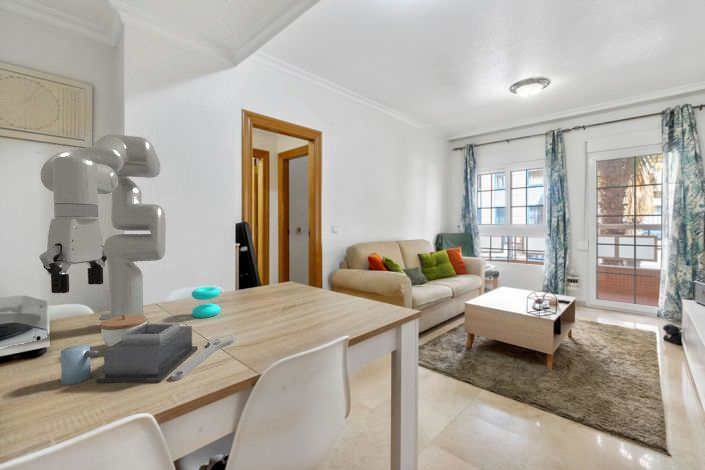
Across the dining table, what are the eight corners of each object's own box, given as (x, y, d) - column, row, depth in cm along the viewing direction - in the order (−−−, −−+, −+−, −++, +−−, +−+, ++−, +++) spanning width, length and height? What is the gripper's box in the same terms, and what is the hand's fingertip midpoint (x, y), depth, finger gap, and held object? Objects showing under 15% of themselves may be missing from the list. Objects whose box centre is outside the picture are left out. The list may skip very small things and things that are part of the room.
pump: (55, 384, 70) (54, 353, 69) (74, 373, 74) (73, 344, 74) (88, 384, 70) (87, 353, 69) (105, 373, 75) (104, 344, 74)
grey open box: (96, 382, 70) (95, 343, 70) (146, 350, 88) (145, 318, 88) (160, 382, 71) (159, 342, 70) (197, 349, 89) (196, 318, 88)
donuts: (185, 291, 118) (203, 286, 128) (185, 317, 119) (204, 310, 128) (208, 292, 116) (225, 287, 126) (209, 319, 116) (225, 312, 126)
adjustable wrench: (179, 383, 71) (179, 375, 71) (154, 381, 72) (154, 373, 72) (237, 341, 96) (237, 335, 96) (217, 340, 97) (217, 334, 97)
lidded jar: (108, 342, 94) (107, 311, 93) (150, 337, 98) (149, 307, 98) (95, 356, 84) (94, 322, 84) (142, 350, 88) (142, 317, 88)
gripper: (89, 214, 80) (91, 281, 80) (21, 211, 63) (24, 297, 63) (120, 214, 80) (122, 281, 81) (60, 211, 63) (63, 296, 63)
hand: (79, 288), depth 72 cm, fingers open, 9 cm apart
